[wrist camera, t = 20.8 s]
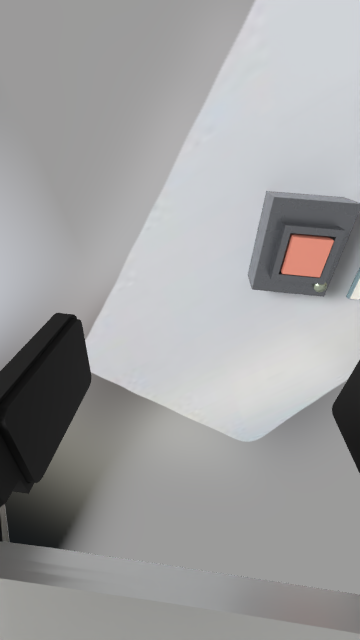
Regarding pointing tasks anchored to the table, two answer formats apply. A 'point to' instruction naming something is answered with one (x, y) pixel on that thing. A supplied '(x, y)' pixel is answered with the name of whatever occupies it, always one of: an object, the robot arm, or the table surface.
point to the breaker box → (300, 218)
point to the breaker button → (306, 254)
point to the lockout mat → (355, 288)
